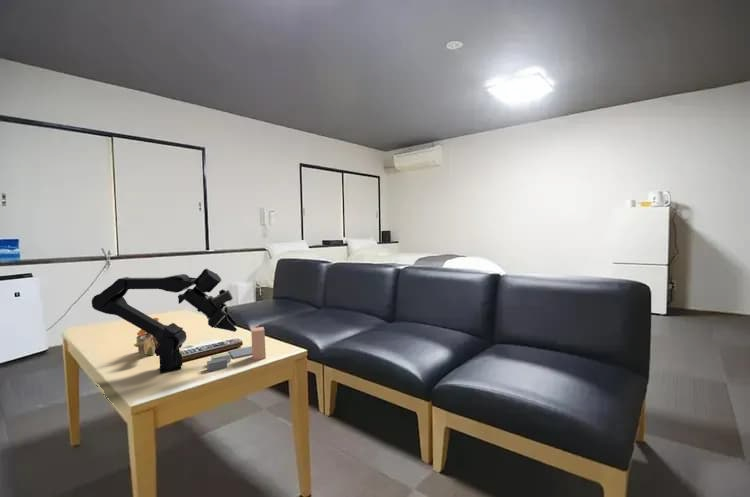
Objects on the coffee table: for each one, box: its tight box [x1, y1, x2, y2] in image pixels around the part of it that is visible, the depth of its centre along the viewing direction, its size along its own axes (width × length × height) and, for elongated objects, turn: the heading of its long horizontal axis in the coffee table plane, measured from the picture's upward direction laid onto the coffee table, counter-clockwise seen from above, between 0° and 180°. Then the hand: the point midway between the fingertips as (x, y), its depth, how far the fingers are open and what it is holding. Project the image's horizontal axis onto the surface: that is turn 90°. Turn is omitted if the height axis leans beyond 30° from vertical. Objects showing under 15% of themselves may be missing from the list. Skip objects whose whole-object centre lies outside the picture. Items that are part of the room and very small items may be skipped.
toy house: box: [136, 317, 160, 356], centre depth 139 cm, size 8×21×14 cm, turn 20°
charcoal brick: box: [206, 358, 228, 373], centre depth 125 cm, size 6×3×3 cm, turn 125°
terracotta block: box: [250, 326, 267, 361], centre depth 134 cm, size 4×4×11 cm
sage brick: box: [210, 352, 232, 364], centre depth 130 cm, size 6×3×3 cm, turn 124°
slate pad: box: [228, 345, 252, 360], centre depth 141 cm, size 11×9×1 cm
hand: (235, 327), depth 131 cm, fingers open, 9 cm apart
